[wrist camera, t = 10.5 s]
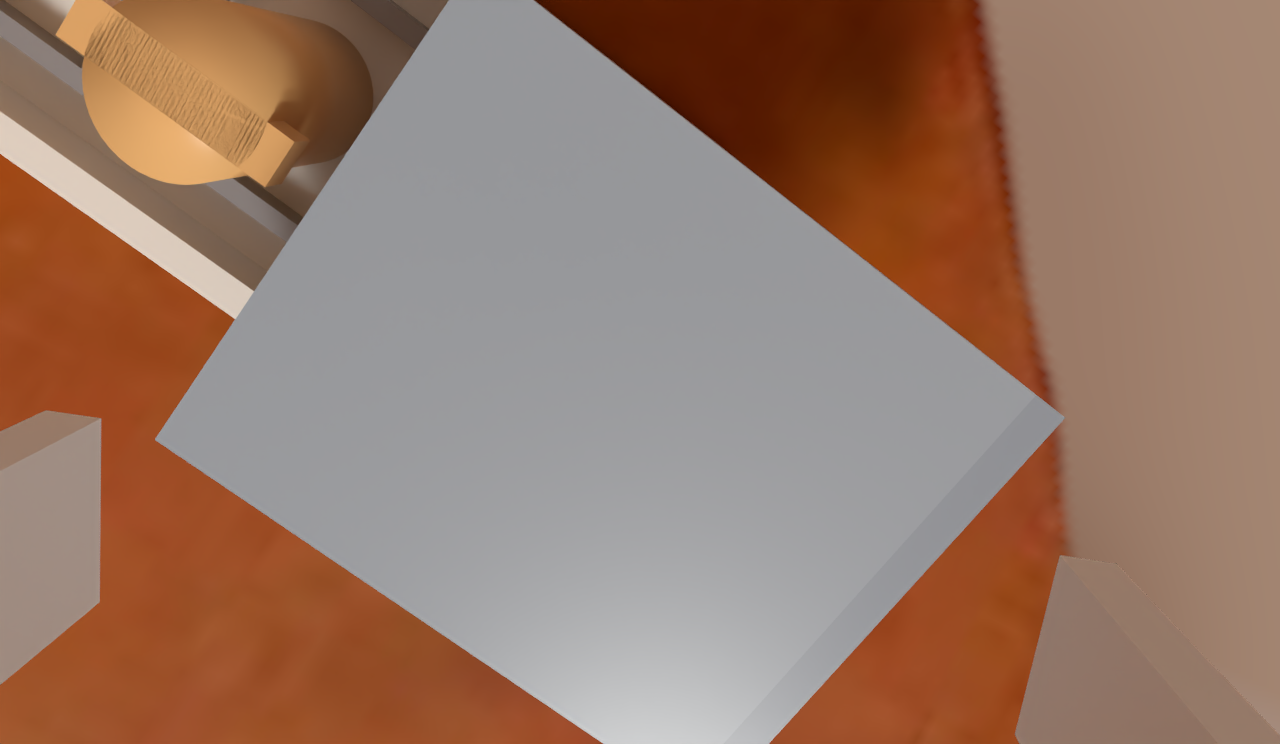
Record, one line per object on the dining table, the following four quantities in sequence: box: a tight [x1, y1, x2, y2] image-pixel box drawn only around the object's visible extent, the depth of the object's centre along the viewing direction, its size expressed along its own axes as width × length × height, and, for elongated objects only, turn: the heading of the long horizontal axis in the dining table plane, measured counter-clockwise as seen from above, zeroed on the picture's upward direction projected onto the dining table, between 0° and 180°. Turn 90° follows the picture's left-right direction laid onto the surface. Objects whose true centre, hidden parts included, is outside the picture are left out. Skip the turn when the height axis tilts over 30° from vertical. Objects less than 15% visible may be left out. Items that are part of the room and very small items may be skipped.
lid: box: [155, 0, 1065, 744], centre depth 26 cm, size 15×12×8 cm
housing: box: [0, 0, 739, 319], centre depth 30 cm, size 25×12×4 cm, turn 53°
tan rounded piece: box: [56, 0, 373, 187], centre depth 26 cm, size 5×4×8 cm
